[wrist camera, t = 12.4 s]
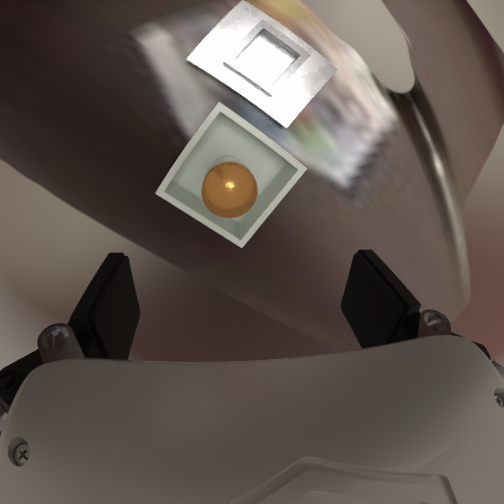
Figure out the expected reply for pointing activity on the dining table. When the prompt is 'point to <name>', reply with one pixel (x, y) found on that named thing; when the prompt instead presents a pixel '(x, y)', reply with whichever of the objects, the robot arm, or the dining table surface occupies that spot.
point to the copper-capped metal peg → (229, 188)
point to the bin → (248, 153)
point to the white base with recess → (262, 63)
